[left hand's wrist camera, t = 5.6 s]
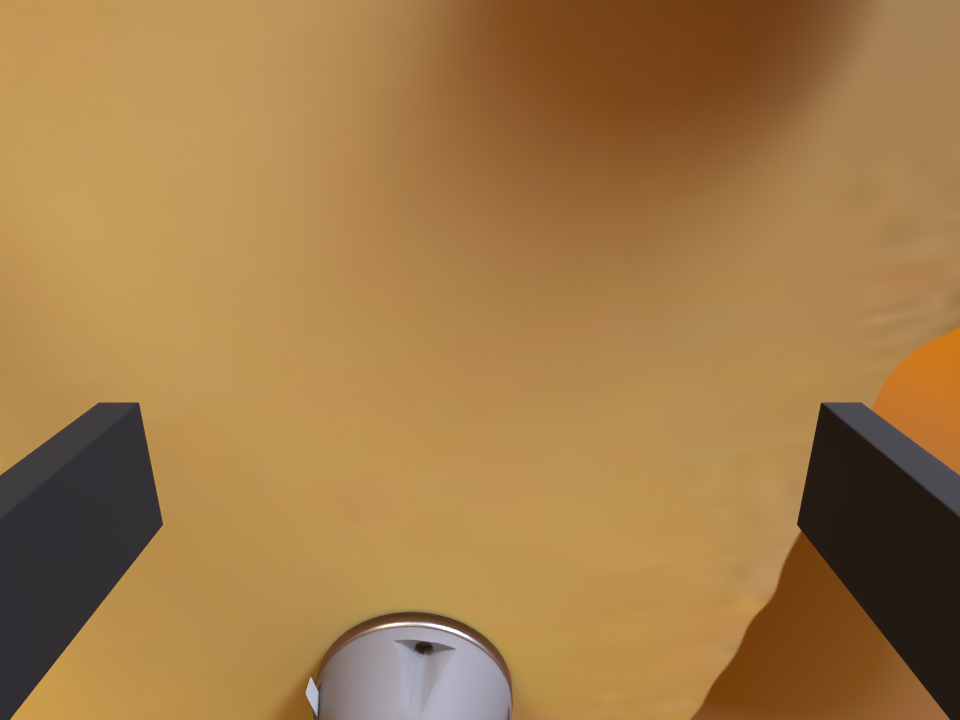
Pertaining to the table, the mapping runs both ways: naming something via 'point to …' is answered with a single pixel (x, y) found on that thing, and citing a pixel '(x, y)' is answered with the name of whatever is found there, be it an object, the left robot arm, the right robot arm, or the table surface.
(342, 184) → the table surface
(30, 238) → the table surface
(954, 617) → the left robot arm
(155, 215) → the table surface
